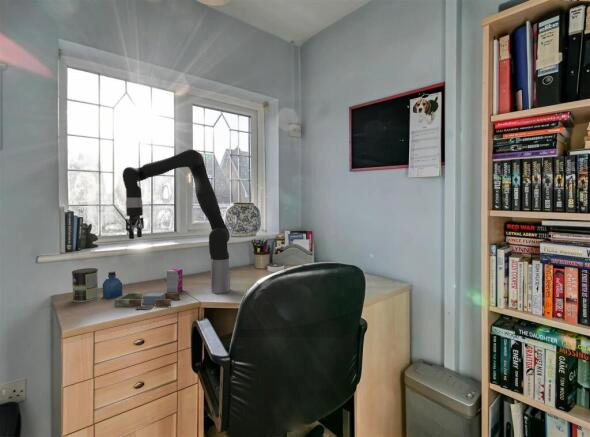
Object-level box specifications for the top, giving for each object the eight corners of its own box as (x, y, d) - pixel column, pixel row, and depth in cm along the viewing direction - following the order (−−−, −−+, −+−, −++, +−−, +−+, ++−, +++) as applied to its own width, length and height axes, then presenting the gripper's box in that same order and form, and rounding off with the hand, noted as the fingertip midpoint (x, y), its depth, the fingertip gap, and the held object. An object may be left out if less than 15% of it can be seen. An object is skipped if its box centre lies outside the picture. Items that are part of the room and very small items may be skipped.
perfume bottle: (109, 298, 149) (108, 274, 149) (103, 296, 153) (102, 272, 152) (122, 295, 155) (121, 271, 154) (115, 293, 158) (114, 270, 157)
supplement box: (176, 293, 158) (176, 271, 157) (166, 292, 159) (165, 270, 158) (183, 290, 163) (182, 268, 163) (173, 289, 164) (172, 268, 164)
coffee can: (72, 303, 142) (71, 273, 141) (72, 298, 150) (71, 269, 149) (99, 299, 148) (98, 270, 147) (97, 294, 156) (96, 267, 155)
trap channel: (183, 296, 153) (183, 290, 153) (165, 310, 133) (165, 303, 133) (133, 295, 153) (133, 290, 153) (108, 309, 133) (108, 303, 133)
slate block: (165, 301, 145) (165, 293, 145) (160, 304, 140) (160, 296, 140) (148, 301, 146) (148, 293, 145) (143, 304, 141) (143, 296, 140)
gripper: (135, 206, 151) (136, 239, 152) (147, 206, 165) (149, 236, 166) (119, 206, 151) (121, 239, 152) (133, 206, 165) (134, 236, 166)
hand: (135, 238), depth 159 cm, fingers open, 8 cm apart
